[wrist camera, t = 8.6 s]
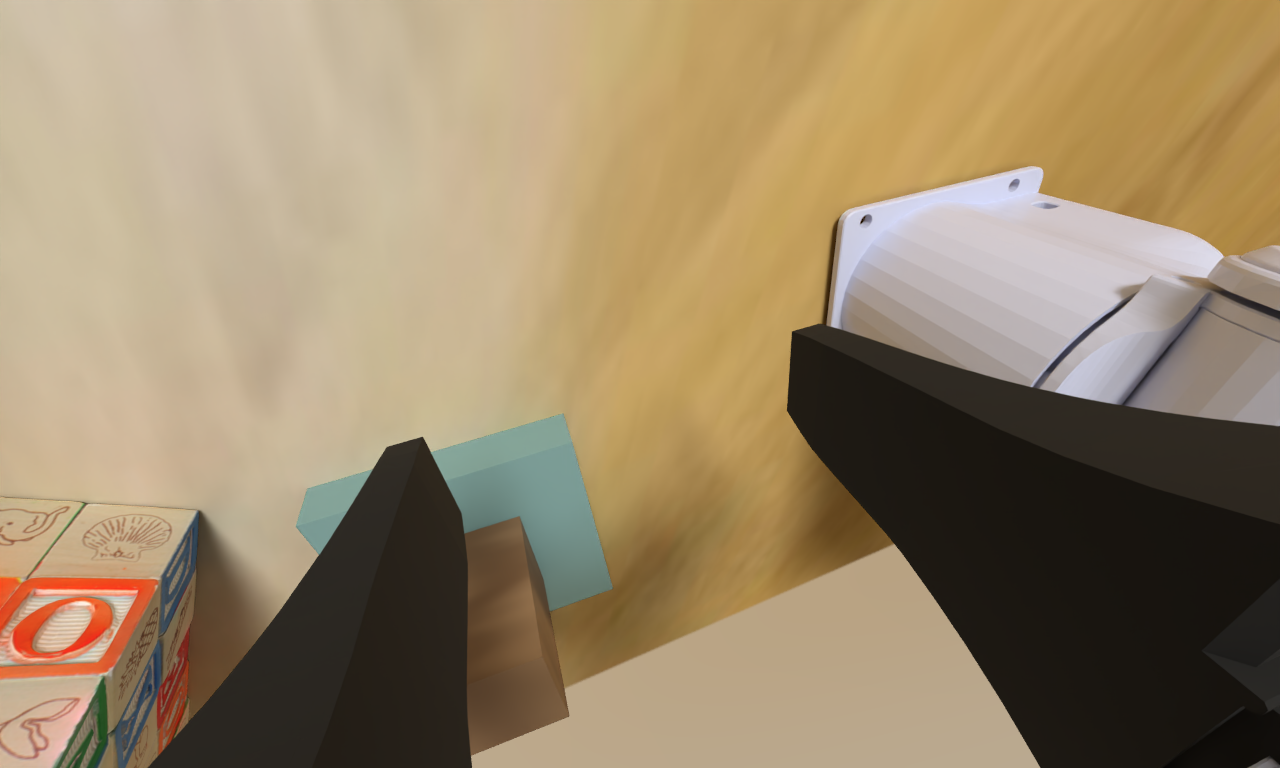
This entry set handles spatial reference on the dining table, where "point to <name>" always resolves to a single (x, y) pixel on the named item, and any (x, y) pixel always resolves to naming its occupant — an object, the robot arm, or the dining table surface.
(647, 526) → the dining table surface
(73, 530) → the stack of blocks
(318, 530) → the teal base
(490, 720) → the walnut block
